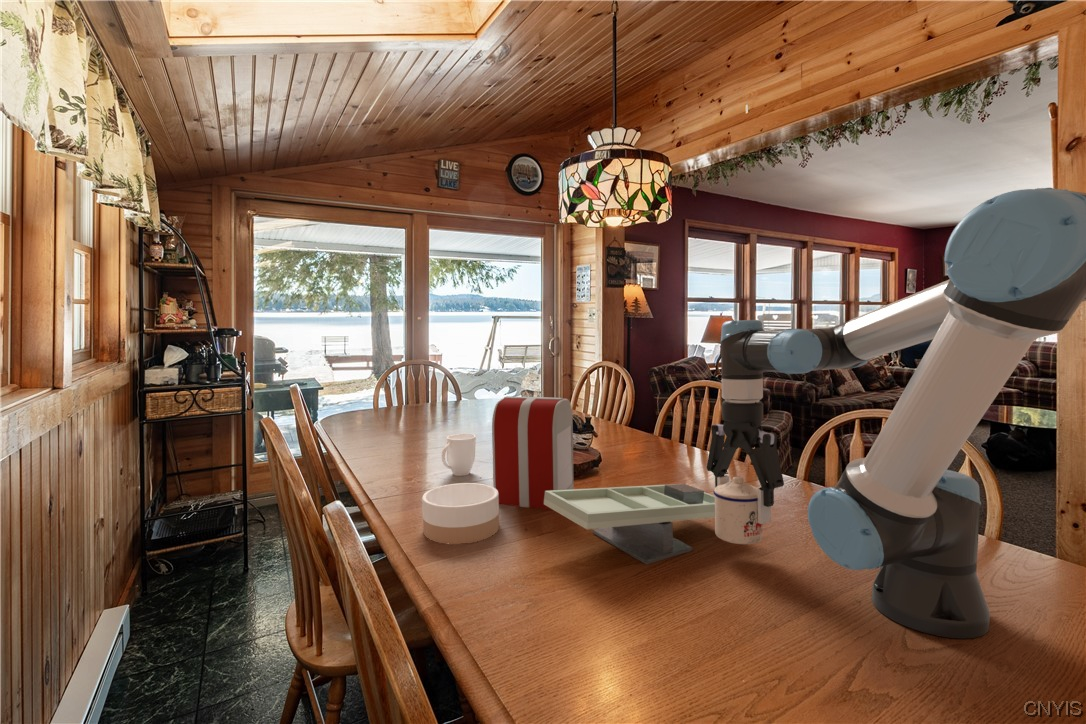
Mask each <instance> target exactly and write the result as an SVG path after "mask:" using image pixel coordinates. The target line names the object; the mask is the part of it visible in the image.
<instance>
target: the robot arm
mask: <svg viewBox="0 0 1086 724" xmlns="http://www.w3.org/2000/svg"><path fill="white" fill-rule="evenodd" d="M944 262H945V264H946V265H947V269H946V274H947V276H948V278H949V279H947V280H945V281H942V282H940V283H937V284H935V285H932V286H930V287H927V288H924V289H923V290H921V291H920V290H919V291H917V292H915V293H913V294H910V295H909V296H906V297H903V298H900V299H898V300H896V301H893V302H891V303H888V304H885V305H883V306H881V307H879V308H876V309H874V310H871V311H869V312H867V313H864V314H861V315H859V316H856V317H854V318H852V319H850V320H847V321H845V322H842V323H840V324H837V325H835V326H832V327H826V328H825V327H823V328H822V327H821V328H819V327H818V328H784V329H769V330H768V329H766V330H764V327H763V322H762V321H761V320H760V319H744V320H726V321H724V322H723V323H722V325H721V332H720V333H721V335H720V340H719V343H720V357H721V358H720V363H721V364H720V365H721V366H720V368H721V369H720V370H721V398H722V399H723V401H722V402H721V418H722V420H723V421H724V422H723V424H722V423H717V424H713V425H711V427H710V429H711V431H710V432H711V440H710V446H709V452H708V458H707V462H706V470H707V471H708V472H711V473H712V474H713V476H714V488H715V487H717V486H718V485H721V484H726V483H727V482H730V481H731V480H730V475H728V474H729V472H728V471H729V468H730V465H731V463H732V461H733V458H734V456H735V454H736V452H737V450H738V449H741V450H744V451H745V454H746V455H747V456H748V457H749V459H750V461H751V464H752V466H753V470H754V472H755V474H756V477H757V479H758V482H759V484H760V487H757V488H758V523H759V524H762V525H763V524H766V523H767V524H768V523H770V522H772V507H773V506H774V504H775V491H774V490H775V489H779V488H782V487H784V485H785V482H784V477H783V473H782V467H781V463H780V462H781V461H780V456H779V452H778V447H777V441H778V435H777V433H776V432H766V431H764V430H763V426H762V421H763V419H764V403H763V402H762V399H763V398H764V383H763V382H764V380H763V377H764V372H773V373H783V374H786V375H793V374H795V375H797V374H807V373H810V372H811V371H821V370H823V371H824V370H849V369H854V368H860V367H862V366H864V365H866V364H867V363H868V362H869V361H870V360H871V359H874V358H877V357H881V356H883V355H887V354H890V353H893V352H896V351H899V350H904V349H906V348H909V347H912V346H915V345H919V344H922V343H925V342H928V341H931V342H930V344H929V346H928V348H927V349H926V351H925V353H924V354H923V357H921V360H920V361H919V363H918V366H917V367H916V369H915V371H914V372H913V374H912V376H911V377H910V379H909V381H908V383H907V385H906V386H905V388H904V390H903V391H902V393H901V395H900V397H899V399H898V400H897V402H896V404H895V405H894V407H893V409H892V411H891V413H890V414H889V416H888V418H887V420H886V422H885V423H884V425H883V427H882V429H881V430H880V432H879V434H878V435H877V437H876V439H875V441H874V442H873V444H872V446H871V448H870V449H869V452H868V453H867V455H866V457H860V458H854V459H853V460H851V461H849V463H848V464H847V465H846V467H845V469H844V471H843V472H842V474H841V476H840V478H839V480H838V481H837V482H836V484H835V485H834V486H827V487H824V488H823V487H822V489H819V491H817V492H815V493H814V494H813V495H812V496H811V498H810V500H809V503H808V507H807V518H808V525H809V527H810V528H811V533H812V536H813V538H814V539H815V541H816V543H817V545H818V546H819V548H820V549H821V550H822V552H823V553H824V554H825V555H826V556H827V557H828V558H829V559H830V560H832V561H833V562H834V563H835V564H837V565H839V566H840V567H843V568H845V569H848V570H852V571H862V570H869V571H870V570H876V569H879V570H878V572H877V574H876V576H875V578H874V581H873V583H872V587H871V601H872V604H873V606H874V607H875V608H876V609H877V610H878V611H879V613H882V614H883V615H884V616H886V617H887V618H889V619H890V620H892V621H894V622H896V623H898V624H900V625H902V626H905V627H907V628H909V629H911V630H916V631H918V632H921V633H924V634H928V635H933V636H937V637H941V638H942V637H943V638H951V639H975V638H980V637H982V636H984V635H986V634H987V633H988V632H989V630H990V621H991V619H990V609H989V607H988V606H989V605H988V603H987V601H986V598H985V595H984V592H983V589H982V587H981V583H980V580H979V577H978V574H977V572H978V571H977V569H978V568H977V567H978V551H979V550H978V548H979V546H978V545H979V533H980V532H979V528H980V510H981V506H982V501H981V500H980V499H981V498H980V486H979V483H978V481H976V480H975V478H973V477H971V476H969V475H967V474H964V473H962V472H957V471H955V470H950V469H948V468H949V467H950V466H951V464H952V463H953V462H954V459H955V458H956V457H957V455H958V453H959V452H960V451H961V449H962V447H963V446H964V445H965V443H966V442H967V441H968V439H969V437H970V436H971V435H972V433H973V431H974V430H975V428H977V426H978V424H979V423H980V421H981V420H982V418H983V417H984V415H985V414H986V412H987V411H988V410H989V408H990V407H991V404H992V403H993V402H994V401H995V399H996V398H997V396H998V395H999V393H1000V391H1002V389H1003V387H1004V386H1005V384H1007V382H1008V380H1009V378H1010V377H1011V375H1012V374H1013V372H1014V371H1015V370H1016V369H1017V367H1018V366H1019V363H1020V362H1021V361H1022V359H1023V358H1024V357H1025V355H1026V353H1027V352H1028V350H1029V349H1030V347H1031V346H1032V345H1033V343H1034V342H1035V340H1038V339H1039V338H1043V337H1049V336H1051V335H1057V334H1060V332H1061V331H1062V330H1063V329H1064V328H1065V326H1066V325H1067V324H1068V322H1069V321H1070V320H1071V318H1072V317H1073V316H1074V313H1075V312H1076V311H1077V309H1078V308H1079V307H1080V305H1081V304H1082V303H1083V302H1086V192H1081V191H1074V190H1068V189H1065V188H1064V189H1061V188H1060V189H1059V188H1053V187H1041V188H1039V187H1037V188H1029V189H1028V188H1027V189H1026V188H1025V189H1017V190H1011V191H1007V192H1004V193H1001V194H998V195H996V196H994V197H991V198H989V199H987V200H985V201H984V202H982V203H980V204H979V205H977V206H975V207H974V208H973V209H972V210H970V211H969V212H968V213H966V215H965V216H963V218H961V220H960V221H959V222H958V223H957V225H956V226H955V227H954V228H953V230H952V232H951V233H950V236H949V237H948V240H947V242H946V246H945V251H944Z"/></svg>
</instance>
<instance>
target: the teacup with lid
mask: <svg viewBox="0 0 1086 724" xmlns="http://www.w3.org/2000/svg"><path fill="white" fill-rule="evenodd" d="M758 488H759V487H757V486H754V485H751V484H750V483H748V482H745V480H744V477H743V476H741V475H735V476H733V477H732V480H730V482H727V483H726V484H721V485H718V486H717V487H715V486H714V490H713V495H714V496H715V517H714V533H715V536H716V537H717V538H719V539H720V540H722V541H724V542H727V543H731V544H737V545H752V544H757V543H759V542H760V541H762V540H763V524H759V523H758Z"/></svg>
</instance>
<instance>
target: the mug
mask: <svg viewBox="0 0 1086 724" xmlns="http://www.w3.org/2000/svg"><path fill="white" fill-rule="evenodd" d="M476 440H477V438H476V435H475V434H472V433H457V434H451V435H448V436H447V437H446V445H445V446H444V447H443V449H442V452H441V461H442V464H443V465H444V466H445V467H446V468H447V469H449V470H450V471H451V473H452V474H453V476H457V477H464V476H468V475H469V474H470V473H471V470H472V469H473V465H474V463H475V458H476V443H477V442H476Z"/></svg>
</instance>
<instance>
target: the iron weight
mask: <svg viewBox="0 0 1086 724" xmlns="http://www.w3.org/2000/svg"><path fill="white" fill-rule="evenodd" d="M674 484H675V485H669V484H664V485H665V489H664V495H667V496H669V497H672V498H674V499H677V500H679V501H682V502H684V503H687V504H689V505H690V504H703V497H704V492H705V491H704V490H702V489H701V488H700V489H699V488H697V487H694V486H691V485H689V484H686V483H674Z"/></svg>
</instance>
